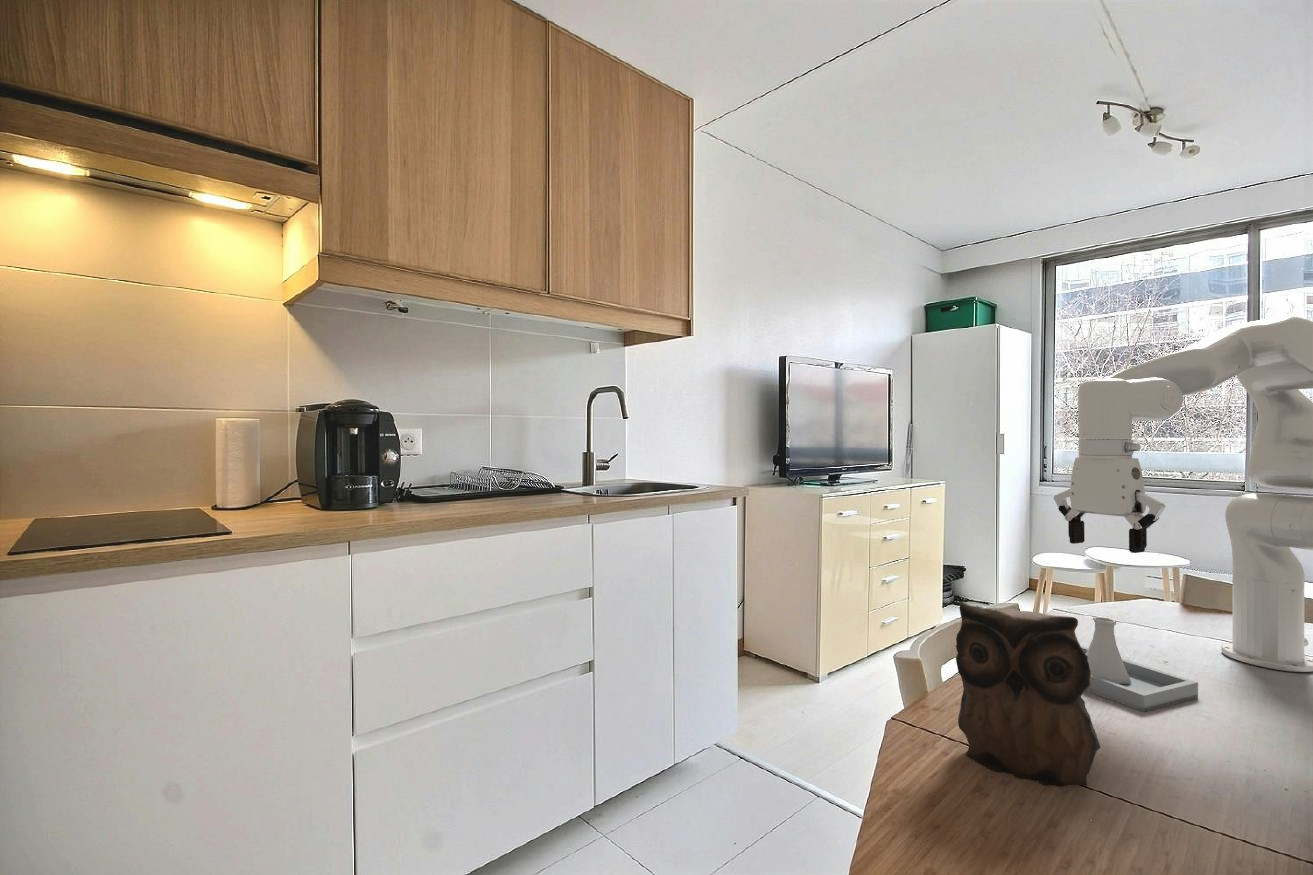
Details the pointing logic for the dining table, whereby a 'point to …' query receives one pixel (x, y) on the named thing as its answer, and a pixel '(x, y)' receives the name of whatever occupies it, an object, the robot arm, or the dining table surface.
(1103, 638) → the flask
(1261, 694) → the dining table surface
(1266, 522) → the robot arm
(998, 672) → the owl
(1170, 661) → the dining table surface
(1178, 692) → the tray
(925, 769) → the dining table surface
